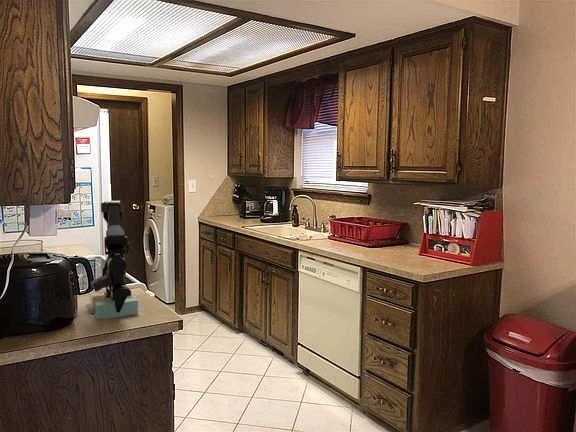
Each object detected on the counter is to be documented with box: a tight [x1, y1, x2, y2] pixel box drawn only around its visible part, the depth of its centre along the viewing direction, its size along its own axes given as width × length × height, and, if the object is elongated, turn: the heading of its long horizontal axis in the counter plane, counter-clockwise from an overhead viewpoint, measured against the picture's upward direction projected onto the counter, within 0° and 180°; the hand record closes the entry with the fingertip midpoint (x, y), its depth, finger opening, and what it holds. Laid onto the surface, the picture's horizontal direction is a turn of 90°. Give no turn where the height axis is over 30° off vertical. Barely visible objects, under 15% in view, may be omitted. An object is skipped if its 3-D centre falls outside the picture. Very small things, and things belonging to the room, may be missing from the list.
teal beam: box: [95, 297, 139, 320], centre depth 176 cm, size 4×14×5 cm, turn 120°
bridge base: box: [86, 291, 132, 315], centre depth 185 cm, size 12×16×6 cm
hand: (117, 310), depth 176 cm, fingers closed on teal beam, 4 cm apart
